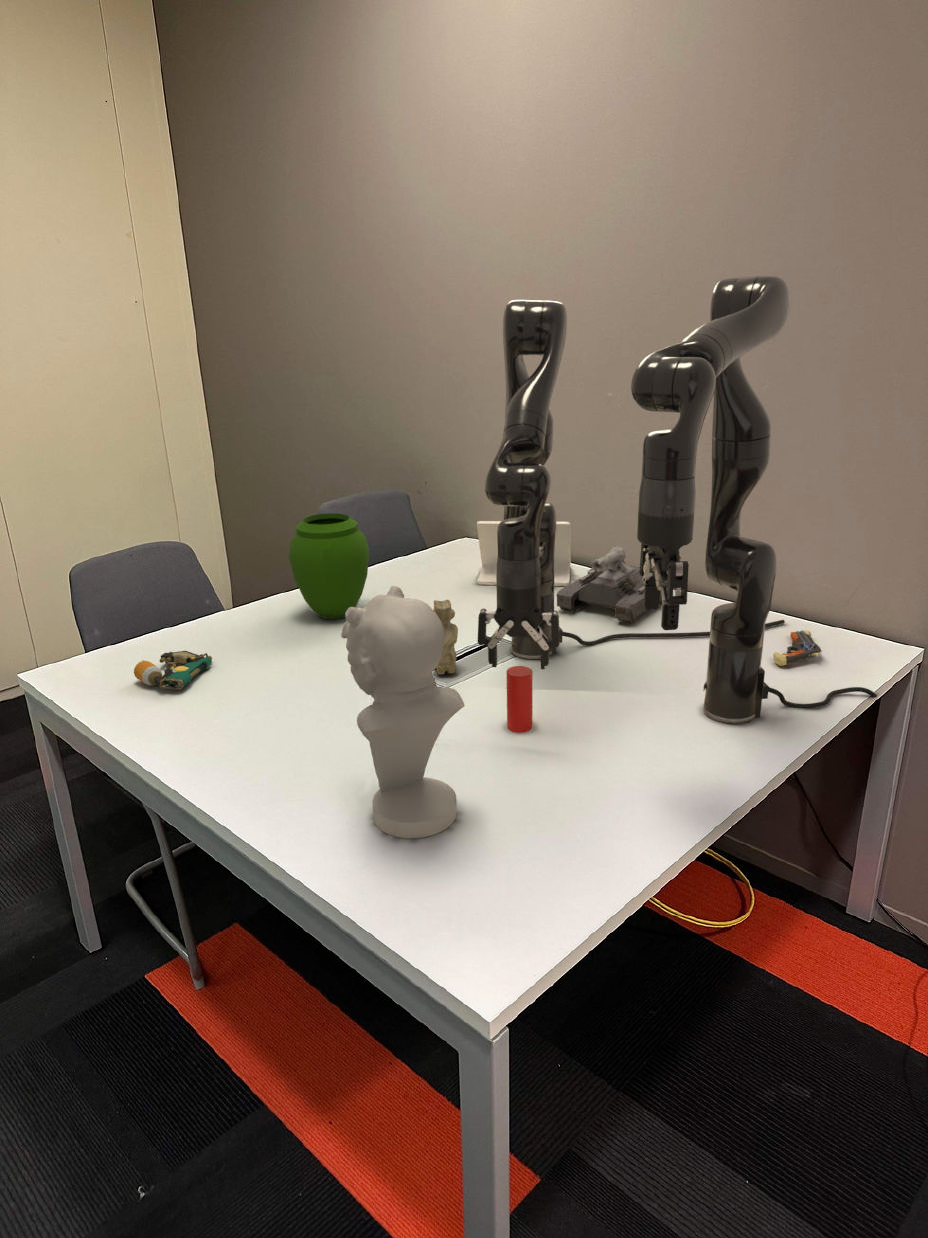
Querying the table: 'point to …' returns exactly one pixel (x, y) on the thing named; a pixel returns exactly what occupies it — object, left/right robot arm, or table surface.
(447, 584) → the table surface
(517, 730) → the red cylinder
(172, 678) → the spray gun
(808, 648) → the toy gun
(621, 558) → the toy
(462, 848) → the table surface
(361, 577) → the vase
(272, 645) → the table surface
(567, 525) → the tablet stand
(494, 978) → the table surface
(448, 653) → the sculpture
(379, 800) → the bust sculpture
